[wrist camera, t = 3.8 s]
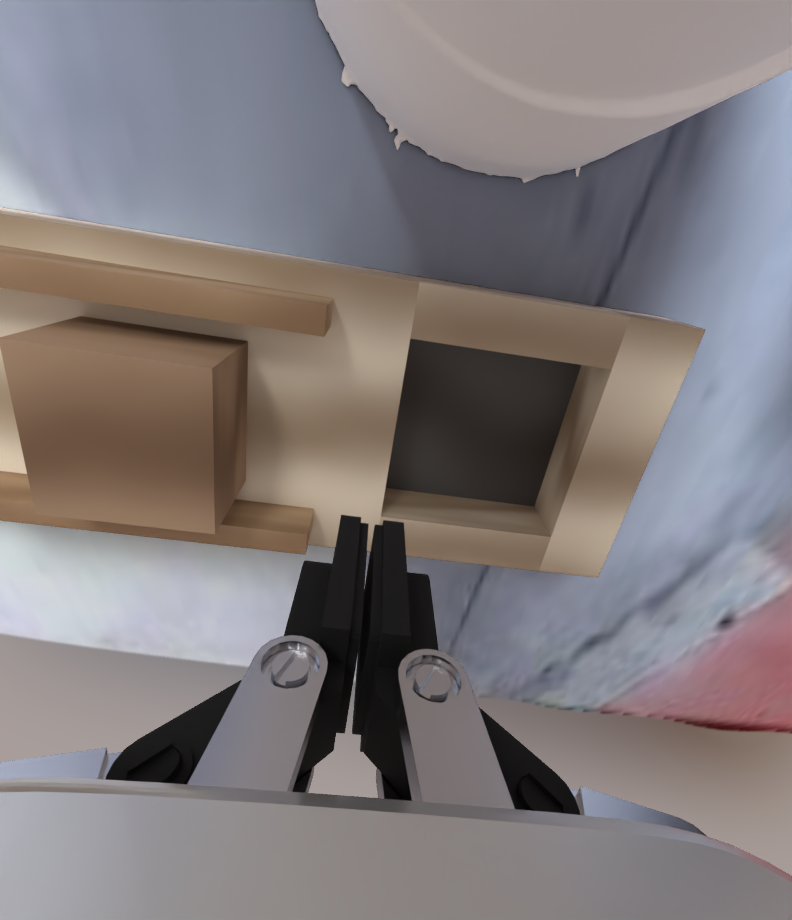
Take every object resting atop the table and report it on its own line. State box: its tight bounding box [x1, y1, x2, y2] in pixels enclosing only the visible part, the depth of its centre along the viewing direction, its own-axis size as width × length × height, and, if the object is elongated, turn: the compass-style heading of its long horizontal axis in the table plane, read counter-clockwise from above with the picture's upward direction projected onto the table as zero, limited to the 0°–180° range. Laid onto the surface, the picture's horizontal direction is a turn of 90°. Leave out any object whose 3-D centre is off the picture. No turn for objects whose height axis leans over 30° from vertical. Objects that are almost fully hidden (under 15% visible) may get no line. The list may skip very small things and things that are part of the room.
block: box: [0, 316, 248, 534], centre depth 17 cm, size 6×6×4 cm
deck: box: [0, 207, 705, 578], centre depth 19 cm, size 12×40×5 cm, turn 81°
